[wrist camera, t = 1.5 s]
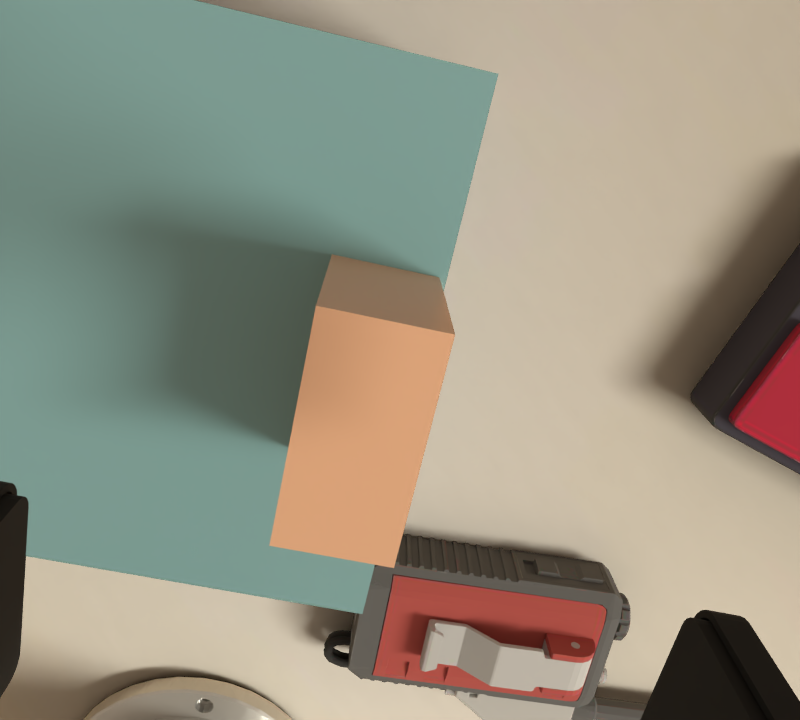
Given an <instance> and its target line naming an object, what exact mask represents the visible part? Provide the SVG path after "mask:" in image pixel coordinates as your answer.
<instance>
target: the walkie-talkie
mask: <svg viewBox="0 0 800 720" xmlns="http://www.w3.org/2000/svg"><path fill="white" fill-rule="evenodd" d="M629 626H630V605H629V602H628V600H627V598H626V597H625V595H623V594H622V593H619V591H618V589H617V587H616V585H615V583H614V580H613V578H612V576H611V574H610V572H609V570H608V569H607V568H606V567H605V566H604V565H603V564H602V563H599V562H592V561H585V560H578V559H571V558H565V557H558V556H551V555H544V554H537V553H531V552H524V551H517V550H510V551H504V550H503V548H499V549H498V550H497V549H492V547H490V546H488V547H487V548H484V547H480V545H476V546H470V545H469V544H468V543H465V544H457V542H456V541H453V542H452V543H450V542H445V540H441V541H436V540H434V538H430V539H423V538H422V536H418V537H417V538H416V537H410V535H408V534H407V535H406V536H402V539H401V543H400V547H399V551H398V554H397V558H396V562H395V566H394V568H391V567H385V566H380V565H375V566H374V570H373V574H372V578H371V582H370V586H369V590H368V594H367V598H366V602H365V606H364V610H363V614H358V613H354V617H353V622H352V628H351V631H344V630H342V631H336V632H333V633H331V634H330V635H329V636H328V638H327V640H326V642H325V644H324V645H325V648H324V655H325V657H326V659H327V660H328V661H329V662H331V663H333V664H336V665H338V666H340V667H347V668H348V669H349V670H350V671H351V672H353V673H354V674H355V675H356V676H358V677H359V678H360V679H363V678H364V679H370V680H372V681H374V680H379V681H382V682H394V683H395V684H398V683H402V684H405V685H417V687H421V686H424V687H429V688H439V689H441V690H445V694H446V695H454V696H456V697H457V698H458V699H459V700H460V701H461V702H463V703H464V704H465V705H466V706H467V707H468V708H470V709H471V710H472V711H473V712H474V713H475V714H477V715H478V716H479V717H480V718H481V719H482V720H640V719H641V717H642V715H643V713H644V710H645V708H646V706H647V704H644V703H636V702H629V701H621V700H614V699H607V698H599V697H594V695H595V692H596V689H597V686H598V683H605V681H606V677H607V671H606V668H604V667H605V663H606V660H607V657H608V654H609V651H610V648H611V645H612V642H613V640H622V639H623V638H624V637H625V636H626V635H627V632H628V630H629ZM336 645H350V649H349V653H343V652H340V651H338V650H336V649H334V647H335V646H336Z"/></svg>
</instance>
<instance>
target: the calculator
mask: <svg viewBox="0 0 800 720" xmlns="http://www.w3.org/2000/svg"><path fill="white" fill-rule="evenodd" d="M691 401H692V403H693V404H694V405H695V406H696V407H697V408H698V410H699V411H700V412H701V413H702V414H703V415H704V416H705V417H706V419H707V420H708V421H709V422H710V423H711V424H712V425H713V426H714V427H715V428H717V429H718V430H720V431H722V432H724V433H725V434H727V435H729V436H731V437H733V438H735V439H736V440H738V441H740V442H742V443H744V444H746V445H747V446H749V447H751V448H753V449H755V450H756V451H758V452H760V453H762V454H764V455H766V456H767V457H769V458H771V459H773V460H775V461H777V462H778V463H780V464H782V465H784V466H786V467H788V468H789V469H791V470H793V471H795V472H797V473H798V474H800V244H799V245H798V247H797V248H796V249H795V251H794V252H793V253H792V255H791V256H790V258H789V259H788V260H787V262H786V263H785V264H784V266H783V267H782V269H781V270H780V271H779V273H778V274H777V275H776V277H775V278H774V280H773V281H772V282H771V284H770V285H769V286H768V288H767V289H766V291H765V292H764V293H763V295H762V296H761V297H760V299H759V300H758V302H757V303H756V304H755V306H754V307H753V308H752V310H751V311H750V313H749V314H748V315H747V317H746V318H745V319H744V321H743V322H742V324H741V325H740V326H739V328H738V329H737V330H736V332H735V333H734V335H733V336H732V337H731V339H730V340H729V341H728V343H727V344H726V346H725V347H724V348H723V350H722V351H721V352H720V354H719V355H718V357H717V358H716V359H715V361H714V362H713V363H712V365H711V366H710V368H709V369H708V370H707V372H706V373H705V374H704V376H703V377H702V379H701V380H700V381H699V383H698V384H697V386H696V387H695V388H694V390H693V391H692V393H691Z"/></svg>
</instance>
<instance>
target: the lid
mask: <svg viewBox="0 0 800 720" xmlns="http://www.w3.org/2000/svg"><path fill="white" fill-rule="evenodd" d="M497 77H498V74H496V73H492V72H488V71H484V70H480V69H476V68H472V67H468V66H464V65H459V64H455V63H451V62H447V61H443V60H439V59H435V58H431V57H426V56H422V55H418V54H414V53H410V52H406V51H402V50H398V49H394V48H389V47H385V46H381V45H377V44H373V43H369V42H365V41H361V40H356V39H352V38H348V37H344V36H340V35H336V34H332V33H328V32H324V31H319V30H315V29H311V28H307V27H303V26H299V25H295V24H291V23H287V22H282V21H278V20H274V19H270V18H266V17H262V16H258V15H254V14H249V13H245V12H241V11H237V10H233V9H229V8H225V7H221V6H217V5H212V4H208V3H204V2H200V1H196V0H0V481H3V482H9V483H13V484H14V485H15V486H16V489H17V495H18V496H24V497H26V498H27V499H28V503H29V510H28V527H27V544H26V556H29V557H35V558H40V559H46V560H52V561H58V562H64V563H69V564H75V565H81V566H87V567H92V568H98V569H104V570H110V571H116V572H121V573H127V574H133V575H139V576H144V577H150V578H156V579H162V580H168V581H173V582H179V583H185V584H191V585H196V586H202V587H208V588H214V589H220V590H225V591H231V592H237V593H243V594H249V595H254V596H260V597H266V598H272V599H277V600H283V601H289V602H295V603H301V604H306V605H312V606H318V607H324V608H329V609H335V610H341V611H347V612H353V613H358V614H363V610H364V606H365V602H366V598H367V594H368V590H369V586H370V582H371V578H372V574H373V570H374V566H375V565H380V566H385V567H391V568H394V566H395V562H396V558H397V554H398V551H399V547H400V543H401V539H402V535H403V532H404V528H405V524H406V520H407V516H408V512H409V509H410V505H411V501H412V497H413V493H414V490H415V486H416V482H417V478H418V474H419V470H420V467H421V463H422V459H423V455H424V451H425V448H426V444H427V440H428V436H429V432H430V428H431V425H432V421H433V417H434V413H435V409H436V406H437V402H438V398H439V394H440V390H441V386H442V383H443V379H444V375H445V371H446V367H447V364H448V360H449V356H450V352H451V348H452V344H453V341H454V337H455V333H454V329H453V325H452V322H451V318H450V314H449V311H448V307H447V303H446V299H445V296H444V288H445V284H446V280H447V276H448V272H449V268H450V264H451V260H452V256H453V252H454V248H455V244H456V240H457V236H458V232H459V228H460V224H461V220H462V216H463V212H464V208H465V204H466V200H467V196H468V192H469V188H470V184H471V180H472V176H473V172H474V168H475V164H476V160H477V156H478V152H479V148H480V144H481V140H482V136H483V133H484V129H485V125H486V121H487V117H488V113H489V109H490V105H491V101H492V97H493V93H494V89H495V85H496V81H497Z"/></svg>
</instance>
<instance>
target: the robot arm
mask: <svg viewBox="0 0 800 720" xmlns="http://www.w3.org/2000/svg"><path fill="white" fill-rule="evenodd" d="M28 510H29V503H28V499H27V498H26V497H24V496H18V495H17V489H16V486H15V485H14V484H13V483H9V482H3V481H0V697H1V696H2V694H3V692H4V691H5V689H6V688H7V686H8V684H9V683H10V681H11V679H12V677H13V675H14V672H15V670H16V667H17V664H18V660H19V656H20V646H21V629H22V612H23V595H24V578H25V561H26V544H27V527H28ZM83 720H292V719H291V718H290V717H289V716H288V715H287V714H286V713H284V712H283V711H282V710H281V709H279V708H278V707H277V706H276V705H275V704H273V703H272V702H270V701H268V700H267V699H265V698H263V697H261V696H259V695H258V694H256V693H254V692H252V691H250V690H247V689H244V688H241V687H239V686H236V685H233V684H230V683H227V682H222V681H217V680H212V679H207V678H194V677H172V678H162V679H154V680H150V681H146V682H143V683H139V684H135V685H132V686H129V687H127V688H125V689H123V690H121V691H119V692H117V693H114V694H112V695H111V696H109V697H108V698H106V699H105V700H104V701H102V702H101V703H100V704H98V705H97V706H95V707H94V708H93V709H92V710H91V711H90V713H89V714H88V715H87V716H86V717H85V718H84V719H83ZM640 720H800V701H799V700H798V698H797V697H796V695H795V693H794V692H793V690H792V689H791V687H790V686H789V684H788V683H787V681H786V679H785V678H784V676H783V675H782V673H781V672H780V670H779V669H778V667H777V665H776V664H775V662H774V661H773V659H772V658H771V656H770V655H769V653H768V651H767V650H766V648H765V647H764V645H763V644H762V642H761V641H760V639H759V637H758V636H757V634H756V633H755V631H754V630H753V628H752V627H751V625H750V623H749V622H748V621H747V620H746V619H745V618H743V617H741V616H737V615H731V614H726V613H720V612H715V611H709V610H702V611H700V612H699V613H697V614H696V616H695V618H687V619H686V620H685V621H684V623H683V624H682V626H681V629H680V631H679V633H678V635H677V638H676V640H675V642H674V645H673V647H672V649H671V651H670V654H669V656H668V658H667V660H666V663H665V665H664V667H663V670H662V672H661V674H660V676H659V679H658V681H657V683H656V685H655V688H654V690H653V692H652V694H651V697H650V699H649V701H648V704H647V706H646V708H645V710H644V713H643V715H642V717H641V719H640Z"/></svg>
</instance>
